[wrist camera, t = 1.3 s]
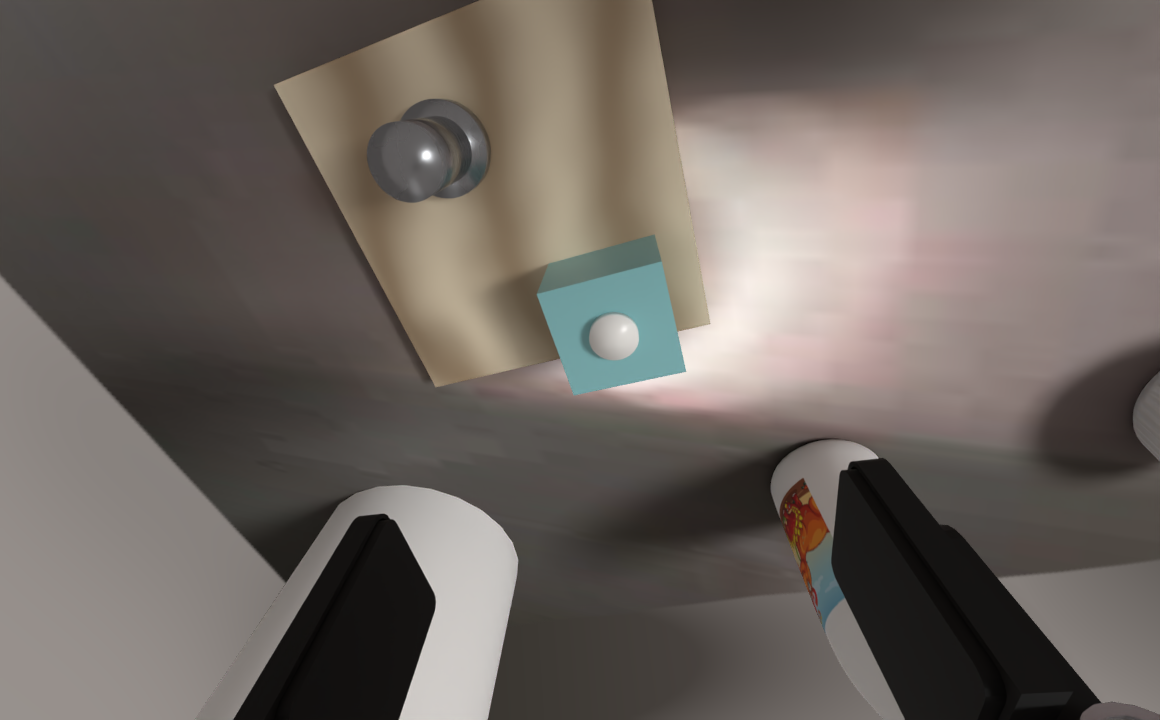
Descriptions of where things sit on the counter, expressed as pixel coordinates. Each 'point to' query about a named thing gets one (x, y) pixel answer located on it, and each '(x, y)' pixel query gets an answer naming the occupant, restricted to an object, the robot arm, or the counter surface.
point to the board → (508, 168)
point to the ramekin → (1149, 416)
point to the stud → (430, 152)
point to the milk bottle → (828, 556)
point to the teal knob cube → (612, 316)
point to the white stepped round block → (462, 615)
